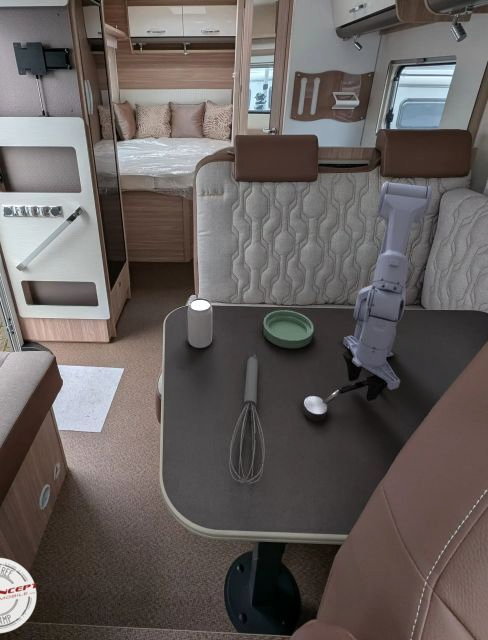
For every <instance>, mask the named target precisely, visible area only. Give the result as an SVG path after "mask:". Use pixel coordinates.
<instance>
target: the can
mask: <svg viewBox="0 0 488 640" xmlns="http://www.w3.org/2000/svg"><path fill="white" fill-rule="evenodd" d="M187 342H188V343H189V346H190V345H191V346H192V347H194V348H195V349H204V348H208V346H210V345H211V343H212V342H213V307H212V302H211V301H210V300H209V299H207V298H204V297H197V298H193V299H191V300H190V301H189V303H188V307H187Z"/></svg>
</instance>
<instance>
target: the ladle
mask: <svg viewBox="0 0 488 640" xmlns="http://www.w3.org/2000/svg"><path fill="white" fill-rule="evenodd" d="M364 387H368V381H367V379H364V380H361V381H358V382H354V383H351V384H348V385H344V386H341V387H338V388H337V390H335V391H334V392H332V393H331V394H330V395H328V396H327V397H326V398H324V399H323V398H321V397H319V396H315V395H310V396H306V398H305V399H304V401H303V407H302V411H303V414H304V415H305V417H306V418H308V419H309V420H312V421H315V422H319V421H322V420H324V419H325V418H326V416H327V411H328V404H329V403H330V402H332V401H333V400H335V399H336V398H337V397H339V396H340V395H342V394H346V393H348V392H352V391H355V390H358V389H361V388H364Z"/></svg>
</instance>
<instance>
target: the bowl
mask: <svg viewBox="0 0 488 640" xmlns="http://www.w3.org/2000/svg"><path fill="white" fill-rule="evenodd" d="M314 329H315V327H314V324H313V322H312V320H310V319H309V317H307V316H305V315H304V314H303V313H299V312H297V311H293V310H287V309H283V310H282V309H278V310H273V311H272V312H270V313H267V314H266V315H265V316H264V318H263V321H262V333H263V336H264V337H265V338H266V339H267V341H269V342H270V343H272V344H273V345H276V346H278V347H281V348H285V349H300V348H303V347H305V346H307V345H309V344H310V343H311V341H312V340H313V338H314V337H313V336H314Z"/></svg>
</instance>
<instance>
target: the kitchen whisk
mask: <svg viewBox="0 0 488 640" xmlns="http://www.w3.org/2000/svg"><path fill="white" fill-rule="evenodd" d="M258 374H259V361H258V358H257V357H256V355H255V353H253V354H252V356H250V357H248V359H247V362H246V371H245V384H244V396H243V409H242V412H241V413H240V416H239V418H238V420H237V423H236V426H235V428H234V429H233V434H232V438H231V442H230V450H229V465H231V467H229V472H230V475H231V477H232V478H233V479H234V480H235V481H236V482H239V483H241V484H243V483H246V484H247V486H249V485H251V484H254V483H256V482H259V481H260V479H261V477H262V475H263V470H264V463H265V457H262V465H261V467H260V470H259V471H258V473H257V474H256V475H255V476H253V474H254V459H255V452H256V451H255V450H256V441H254V432H256V424H257V428H258V433H259V439H260V444H261V445H260V446H261V452H262V453H261V454H262V456H264V452H265V451H266V450H265V447H264V446H265V440H264V433H263V428H262V426H261V421H260V418H259V415H258V413H257V410H256V408H257V402H258V399H257V398H258V396H257V395H258ZM249 411H250V417H251V418H250V419H251V420H253V419H255V420H256V423H255V420H253V425H251V436H252V437H251V439H252V442H251V443H252V444H253V454H252V461H251V466H250V469H249V471H248V474H247V476H246V477H245V474H244V470H243V464H242V462H241V461H242V449H243V443H244V436H245V432H246V431H245V430H246V425H247V419H248V415H249ZM243 417H244V418H243ZM242 419H243V422H242V429H241V435H240V436H241V437H240V442H241V443H239V444H240V446H239V447H240V448H239V453H240V454H239V461H238V472H237V471H236V470H235V468H234V465H233V461H232V451H233V447H234V443H235V439H236V436H237V433H238V431H239V427H240V424H241V421H242ZM253 429H254V430H253ZM231 468H232V470H233V472H234V473H235V475H236V476H237V477H238V479H237V478H236V477H235V476H234V475H233V473H232V470H231ZM240 468H241V469H240ZM240 471H241V472H240ZM240 473H242V476H243V477H241V476H240V475H241V474H240ZM250 474H251V478H249V479H248V477H249V476H250ZM259 475H260V476H259ZM258 476H259V478H258V479H256V478H257V477H258ZM247 479H248V480H247ZM255 479H256V480H255ZM253 480H255V481H253Z"/></svg>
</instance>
